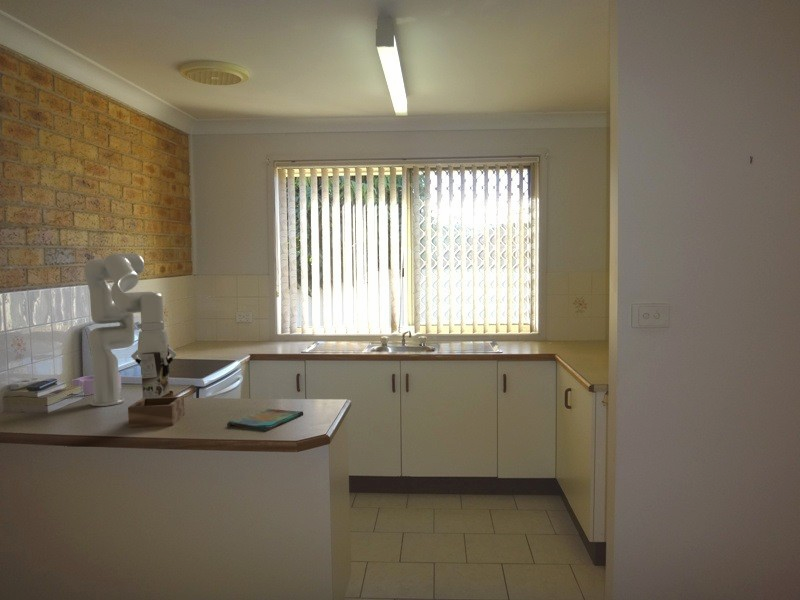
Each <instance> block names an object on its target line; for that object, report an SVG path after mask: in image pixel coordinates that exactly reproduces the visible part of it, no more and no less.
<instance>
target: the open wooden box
mask: <svg viewBox="0 0 800 600" xmlns="http://www.w3.org/2000/svg"><path fill="white" fill-rule="evenodd" d="M127 414H128V415H127V416H128V428H141V427H143V428H144V427H163V426H164V427H165V426H174V425H175V424H176V423H177V422H178V421H179V420H180V419H182V418H183V417H184V416H186V414H185V396H174V397H160V398H143V397H142V398H141V399H139V400H137V401H136V402H133V404H131V405H129V406H128V407H127Z"/></svg>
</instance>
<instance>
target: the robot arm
mask: <svg viewBox="0 0 800 600" xmlns="http://www.w3.org/2000/svg"><path fill="white" fill-rule="evenodd" d="M145 266H146V265H145V260H144V258H143V257H142V256H141V255H140V254H138V253H134V252H132V253H131V252H127V253H125V252H124V253H122V252H120V253H119V252H118V253H116V252H115V253H112V254H109V255H107V256H106V257H105V258H96V259H91V260H89V261H87V262H86V263H85V265H84V269H83V271H84V272H83V273H84V274H83V275H84V279H85V282H86V284H87V286H88V290H89V303H90V316H91V319H92V322H93V323H95V324H98V325H103V324H104V325H105V324H117V323H118V324H119V325H111V326H101V327H96V328H94V329H92V330H90V331H89V333H88V336H87V339H88V344H89V345H88V346H89V348H90V353H91V361H92V362H91V363H92V375H93V381H94V395H93V396H94V397H93V398H94V400H91V401H90V406H92V407H106V406H107V407H108V406H115V405H119V404H122V403H124V402H125V398H124V397H122V396H121V394H122V390H121V388H120V389H119V373H120V372H119V359H118V358H117V356H116V355H115V354H114V353H113V352H112V350H117V349H126V348H130V347H132V346H133V344H134V343H135V337H136V336H135V322H134V319H135V317H134V314H135V313H140V323H139V324H137V329H140V330H141V331H139V332H138V337H137V339H138V340H137V350H136V351H134V352H133V353H132V354H131V358H132V359H133V360H134V361H135V363H136V364H138V366H139V367H141V354H142V353H152V352H160V358H161V359H162V361H163V363H164V366H163V375H164V376H167V375H168V376H169V374H170V364H171V363H172V362H173V360H175V358H176V357H177V356H178V353H177V352H176V351H175V350H174V349H173V348H171V347H170V342H169V336H168V332H167V330H166V329H165V324H164V323H165V322H164V319H165V318H164V304H163V294H161V293H160V292H155V291H154V292H153V291H135V292H128V291H130V290H133V289H134V288H135V287H136V286H137V285H138V283H139V279H140V278H139V275H141V274H142V273H143V272H144V270H145ZM109 280H112V281H113V283H112V286H111V284H109V282H108V281H109ZM170 355H171V356H170ZM167 356H168V358H167ZM169 356H170V357H169ZM140 374H141V376H142V371H141V370H140Z"/></svg>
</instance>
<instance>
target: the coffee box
mask: <svg viewBox="0 0 800 600" xmlns="http://www.w3.org/2000/svg"><path fill="white" fill-rule="evenodd" d="M167 358H168V359H169V356H167ZM163 366H164V363H163V361H162V359H161V358H160V352H152V353H142V354H141V366H140V372H141V371H142V375H141V387H142V388H141V389H142V398H160V397H162V396H164V395H166V394H168V393H169V391H170V380H169V379H170V378H169V374H168V375H167V376H164V375H163Z"/></svg>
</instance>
